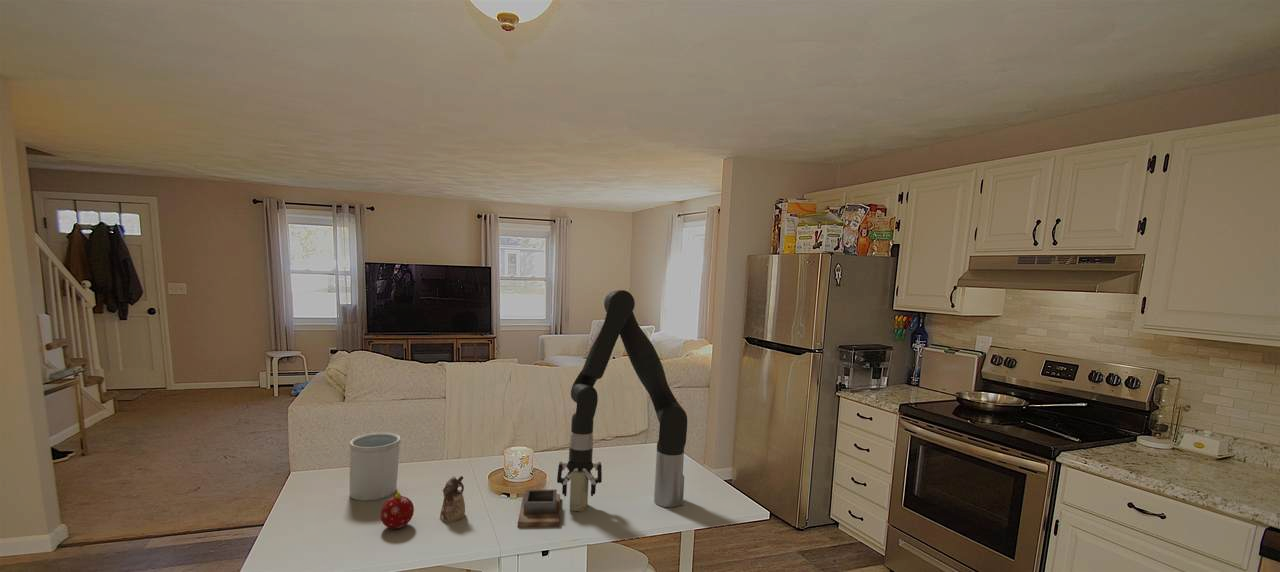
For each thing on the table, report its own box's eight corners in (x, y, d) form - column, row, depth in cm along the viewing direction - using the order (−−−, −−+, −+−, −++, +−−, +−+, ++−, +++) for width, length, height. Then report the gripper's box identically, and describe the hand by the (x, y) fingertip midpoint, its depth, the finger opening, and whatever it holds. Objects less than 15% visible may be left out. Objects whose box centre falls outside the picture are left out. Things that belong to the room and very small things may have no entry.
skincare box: (582, 512, 159) (583, 474, 159) (568, 510, 160) (570, 472, 160) (587, 503, 165) (589, 467, 165) (575, 502, 166) (576, 465, 166)
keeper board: (560, 498, 168) (560, 494, 168) (558, 526, 150) (559, 521, 150) (523, 498, 167) (523, 494, 167) (517, 527, 148) (517, 522, 148)
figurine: (440, 512, 155) (441, 473, 154) (464, 509, 157) (466, 471, 157) (439, 523, 148) (441, 482, 148) (465, 520, 150) (467, 480, 150)
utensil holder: (396, 499, 162) (399, 444, 162) (343, 504, 157) (346, 448, 156) (399, 481, 176) (402, 431, 176) (351, 485, 170) (353, 434, 170)
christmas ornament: (382, 537, 139) (384, 501, 138) (377, 524, 146) (379, 490, 145) (416, 529, 144) (417, 494, 144) (409, 517, 151) (411, 484, 150)
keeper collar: (556, 500, 164) (556, 489, 163) (555, 514, 154) (556, 502, 154) (526, 500, 162) (526, 489, 162) (523, 514, 153) (523, 503, 153)
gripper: (602, 441, 167) (599, 490, 167) (559, 441, 165) (556, 490, 166) (604, 449, 160) (601, 500, 160) (558, 449, 158) (555, 500, 158)
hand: (578, 495), depth 163 cm, fingers open, 8 cm apart
